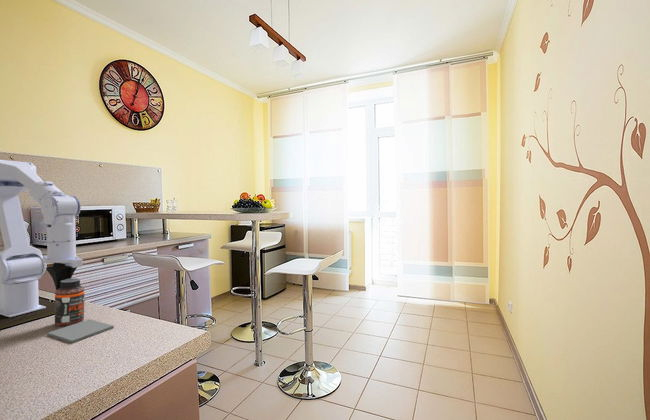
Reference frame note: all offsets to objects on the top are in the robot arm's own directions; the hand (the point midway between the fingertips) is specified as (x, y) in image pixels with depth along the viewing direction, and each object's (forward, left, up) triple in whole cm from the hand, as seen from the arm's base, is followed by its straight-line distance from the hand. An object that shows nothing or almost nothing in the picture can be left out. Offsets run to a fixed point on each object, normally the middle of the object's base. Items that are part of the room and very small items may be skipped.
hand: (62, 291), depth 80 cm
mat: (+12, -2, -8) cm, 15 cm away
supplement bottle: (+3, 0, -8) cm, 9 cm away
